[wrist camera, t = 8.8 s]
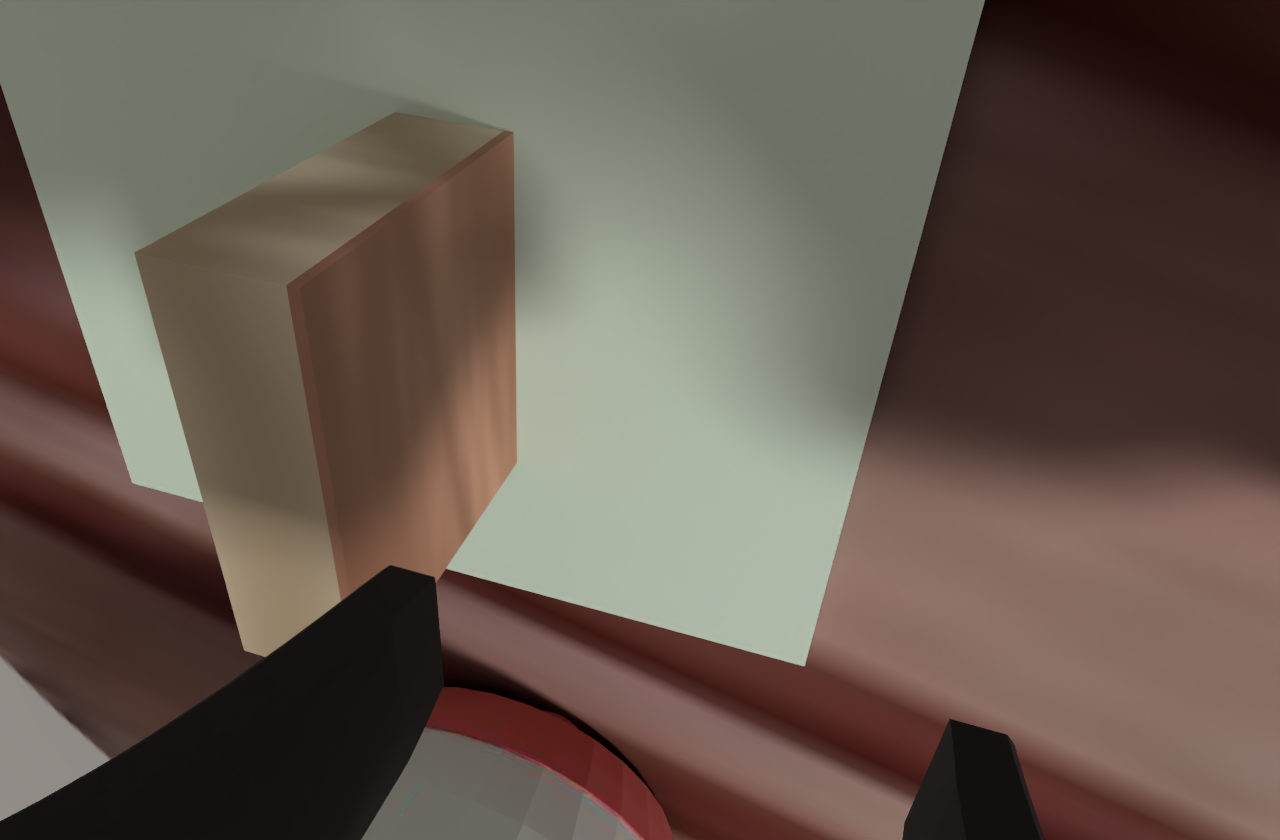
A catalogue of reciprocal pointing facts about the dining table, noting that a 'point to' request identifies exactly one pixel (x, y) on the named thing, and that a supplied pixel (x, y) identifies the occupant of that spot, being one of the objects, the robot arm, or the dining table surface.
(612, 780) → the citrus juicer
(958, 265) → the dining table surface
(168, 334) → the tile
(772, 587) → the mat
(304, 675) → the robot arm
